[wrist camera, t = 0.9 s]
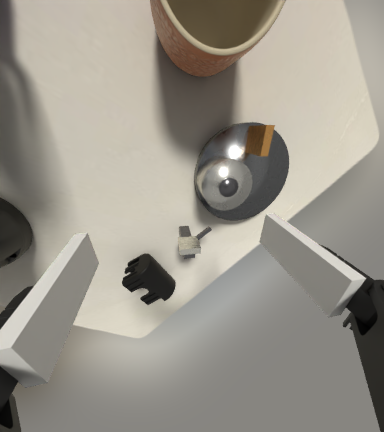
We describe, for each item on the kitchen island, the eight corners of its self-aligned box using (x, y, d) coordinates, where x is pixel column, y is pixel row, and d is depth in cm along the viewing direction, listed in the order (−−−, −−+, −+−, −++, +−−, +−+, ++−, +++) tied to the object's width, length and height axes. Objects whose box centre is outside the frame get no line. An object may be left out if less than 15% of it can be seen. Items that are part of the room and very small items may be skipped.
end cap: (174, 272, 42) (177, 295, 36) (151, 284, 43) (150, 309, 37) (151, 246, 37) (149, 268, 31) (125, 261, 38) (119, 285, 32)
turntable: (193, 218, 35) (200, 237, 29) (195, 121, 27) (206, 118, 21) (269, 213, 38) (291, 229, 32) (293, 124, 30) (328, 122, 23)
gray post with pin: (175, 234, 37) (180, 262, 29) (175, 215, 34) (179, 240, 27) (203, 232, 38) (214, 258, 30) (204, 213, 35) (216, 237, 28)
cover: (195, 200, 31) (202, 212, 26) (197, 155, 27) (205, 160, 22) (235, 198, 32) (248, 210, 27) (242, 155, 28) (258, 160, 24)
